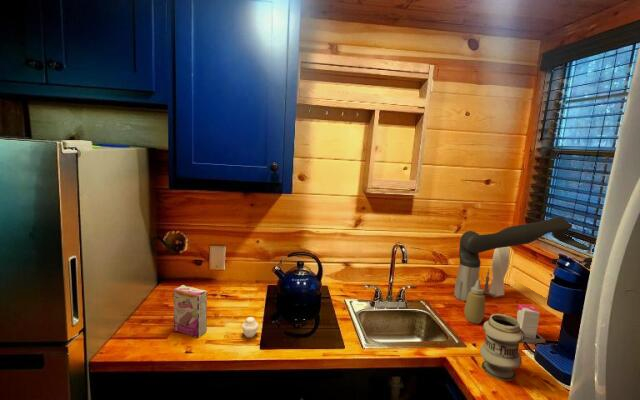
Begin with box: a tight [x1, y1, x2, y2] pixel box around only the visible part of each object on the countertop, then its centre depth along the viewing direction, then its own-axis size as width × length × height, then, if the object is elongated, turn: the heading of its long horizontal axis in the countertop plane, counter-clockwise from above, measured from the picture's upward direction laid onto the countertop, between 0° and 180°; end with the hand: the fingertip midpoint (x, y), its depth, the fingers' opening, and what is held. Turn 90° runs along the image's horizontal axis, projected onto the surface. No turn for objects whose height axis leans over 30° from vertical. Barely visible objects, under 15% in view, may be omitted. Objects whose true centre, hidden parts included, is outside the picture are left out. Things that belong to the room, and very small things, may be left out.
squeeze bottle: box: [463, 279, 486, 325], centre depth 143 cm, size 8×8×18 cm
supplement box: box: [515, 304, 541, 338], centre depth 133 cm, size 6×6×12 cm
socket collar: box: [520, 332, 546, 345], centre depth 134 cm, size 10×10×2 cm
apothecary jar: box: [479, 313, 525, 382], centre depth 110 cm, size 12×12×18 cm
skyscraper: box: [483, 246, 511, 298], centre depth 172 cm, size 8×8×28 cm
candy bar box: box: [173, 284, 208, 338], centre depth 123 cm, size 11×5×16 cm, turn 71°
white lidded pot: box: [241, 316, 260, 338], centre depth 124 cm, size 6×6×7 cm
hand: (558, 264), depth 136 cm, fingers open, 8 cm apart
